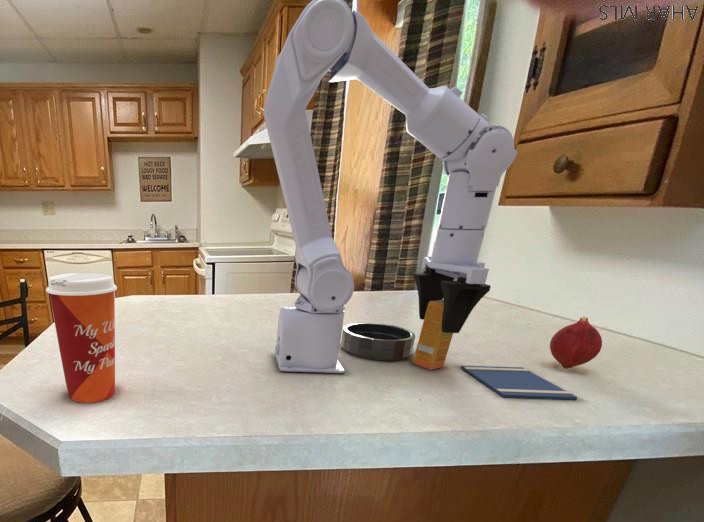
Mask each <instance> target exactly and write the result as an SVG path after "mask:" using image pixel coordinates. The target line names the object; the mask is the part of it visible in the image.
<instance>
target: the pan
mask: <svg viewBox="0 0 704 522" xmlns="http://www.w3.org/2000/svg"><path fill="white" fill-rule="evenodd" d="M415 339H416V333H414V332H413V331H412V330H410V329H407V328H404V327H401V326H397V325H392V324H387V323H386V324H385V323H378V322H377V323H376V322H355V323H350V324H349V323H348V324H346V325H344V326H343V327H342V333H341V340H340V347H341V348H342V349H343V350H344V351H345V352H346V353H348V354H350V355H353V356H355V357H358V358H363V359H367V360H373V361H384V362H387V361H400V360H403V359H406V358H407V357H409V356H411V355H412V354H413V350H414V346H415V345H414V344H415Z"/></svg>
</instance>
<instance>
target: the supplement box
mask: <svg viewBox="0 0 704 522" xmlns="http://www.w3.org/2000/svg"><path fill="white" fill-rule="evenodd" d="M443 309H444V299H443V300H438V301H430V302H429V303H428V307H427V310H426V314H425V318H424V320H423V322H422V326H421V329H420V332H419V333H420V334H419V338H418V342H417V344H416V345H417V346H416V349H415V353H414V356H413V361H412V363H413V365H415V366H417V367H418V366H419V367H421V368H424V369H427V370H431V371H432V370H437V369H439V368H443V367H444V366H445V362H446V359H447V357H448V356H447V355H448V352H449V348H450V347H451V342H452V338H453V336H454V333H444V332H442V317H443Z"/></svg>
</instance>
